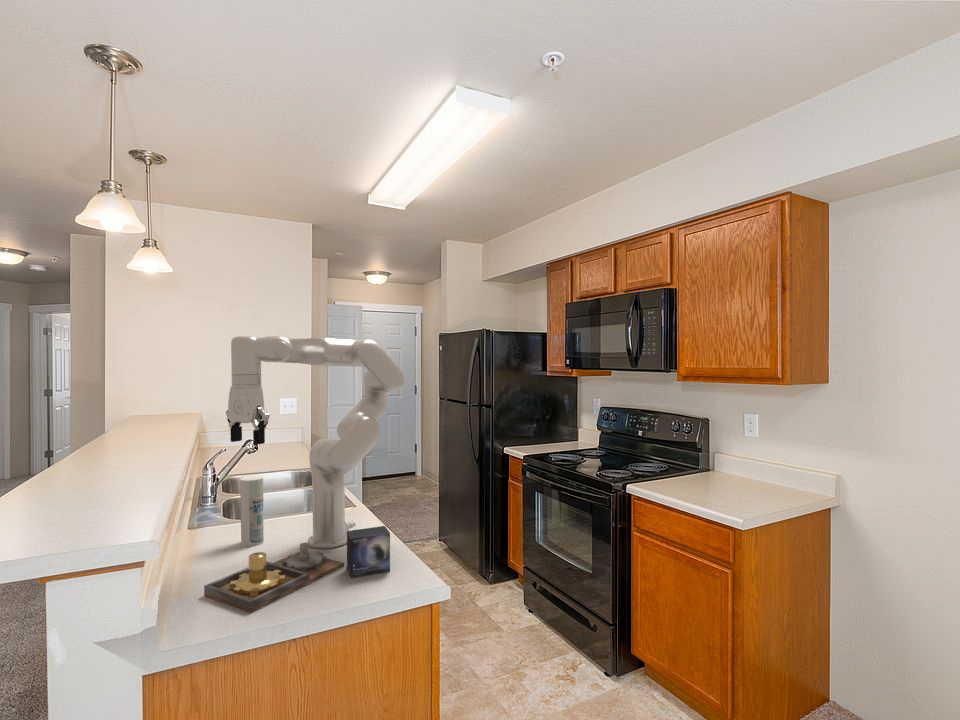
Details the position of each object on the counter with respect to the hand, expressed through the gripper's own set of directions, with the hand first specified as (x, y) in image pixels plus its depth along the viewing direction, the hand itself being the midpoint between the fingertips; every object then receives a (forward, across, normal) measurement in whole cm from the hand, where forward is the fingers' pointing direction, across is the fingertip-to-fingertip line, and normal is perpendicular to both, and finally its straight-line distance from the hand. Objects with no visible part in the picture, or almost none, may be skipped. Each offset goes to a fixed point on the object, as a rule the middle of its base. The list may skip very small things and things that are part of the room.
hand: (247, 442), depth 144 cm
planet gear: (+32, +17, -10) cm, 38 cm away
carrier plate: (+33, +17, -4) cm, 38 cm away
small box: (+34, +33, +12) cm, 49 cm away
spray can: (+34, -12, +10) cm, 37 cm away
